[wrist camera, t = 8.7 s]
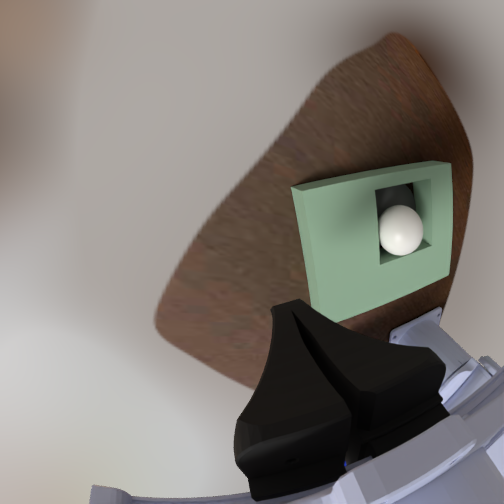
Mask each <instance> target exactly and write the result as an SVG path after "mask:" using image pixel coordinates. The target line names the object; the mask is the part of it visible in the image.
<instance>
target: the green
mask: <svg viewBox="0 0 504 504" xmlns="http://www.w3.org/2000/svg"><path fill="white" fill-rule="evenodd" d="M410 182H413V189H414V196H413V194H412V192H411V191H410V189H409V188H408V187H407V186H406V185H405V183H410ZM291 190H292V195H293V200H294V205H295V210H296V215H297V220H298V226H299V231H300V237H301V243H302V248H303V254H304V260H305V266H306V273H307V279H308V286H309V292H310V299H311V306H312V308H313V309H315V310H316V311H318V312H319V313H321V314H322V315H324V316H326V317H327V318H329V319H330V320H332V321H334V322H339V321H342V320H345V319H347V318H350V317H353V316H355V315H358V314H361V313H363V312H366V311H368V310H371V309H374V308H376V307H379V306H381V305H383V304H386V303H388V302H391V301H393V300H395V299H398V298H400V297H402V296H405V295H407V294H409V293H412V292H414V291H416V290H418V289H420V288H423V287H425V286H427V285H429V284H431V283H433V282H435V281H437V280H439V279H442V278H444V277H446V276H448V275H449V269H450V259H451V246H452V227H453V192H452V172H451V163H446V162H439V161H426V162H419V163H412V164H406V165H399V166H393V167H387V168H381V169H376V170H370V171H364V172H359V173H354V174H349V175H343V176H338V177H334V178H329V179H324V180H319V181H314V182H310V183H305V184H301V185H296V186H292V187H291ZM395 205H403V206H407V207H409V208H411V209H413V210H414V211H415V212H416V213H417V214H418V215H419V217H420V219H421V221H422V224H423V238H422V241H421V243H420V245H419V246H418V247H417V249H416V250H414V251H413V252H412V253H410V254H407V255H402V256H399V255H394V254H391V253H389V252H388V251H386V250H385V249H384V248H382V249H379V245H381V244H380V242H379V233H378V220H379V218H380V216H381V214H382V213H383V212H384V211H385V210H386V209H388V208H390V207H392V206H395ZM381 246H382V245H381Z"/></svg>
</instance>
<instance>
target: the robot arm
mask: <svg viewBox="0 0 504 504" xmlns="http://www.w3.org/2000/svg"><path fill="white" fill-rule="evenodd" d="M271 313H272V317H273V328H272V339H271V345H270V350H269V355H268V359H267V362H266V365H265V368H264V371H263V374H262V376H261V379H260V381H259V384H258V386H257V388H256V390H255V391H254V394H253V396H252V397H251V399H250V401H249V403H248V404H247V406H246V407H245V409H244V410H243V412H242V413H241V415H240V416H239V418H238V419H237V423H236V428H235V435H234V455H235V462H236V464H237V466H238V467H239V469H240V470H241V471H242V472H243V473H244V474H245V476H246V477H247V478H248V482H249V488H250V492H247V493H240V494H233V495H224V496H215V497H214V496H213V497H198V498H152V497H150V498H149V497H137V496H131V495H130V494H128V493H127V492H125V491H123V490H120V489H117V488H112V487H105V486H99V485H92V489H91V495H90V502H89V504H504V366H503V367H502V368H501V367H500V366H499V365H498V364H497V363H496V362H495V361H493V360H492V359H491V358H490V357H489V356H484V357H483V356H482V357H480V359H479V362H480V363H481V364H482V365H484V367H483V366H482V365H480V363H478V362H477V361H476V360H475V359H474V358H473V357H471V356H470V355H469V354H468V353H467V352H466V351H465V350H464V349H463V348H462V347H461V346H460V345H459V344H458V343H456V342H455V341H454V340H453V339H452V338H451V337H450V336H449V335H448V334H447V333H446V332H445V331H443V330H442V329H441V328H440V327H439V323H440V318H441V313H442V308H441V307H438V308H436V309H434V310H432V311H430V312H428V313H426V314H424V315H422V316H420V317H418V318H416V319H414V320H412V321H410V322H408V323H406V324H404V325H402V326H400V327H398V328H395V329H393V330H392V331H391V332H390V338H389V342H385V341H381V340H377V339H374V338H370V337H367V336H364V335H362V334H359V333H357V332H354V331H352V330H349V329H347V328H345V327H343V326H341V325H339V324H337V323H336V322H334V321H332V320H330V319H329V318H327V317H326V316H324V315H322V314H321V313H319V312H318V311H316V310H315V309H313V308H312V307H311V306H309V305H308V304H306V303H305V302H304V301H302V300H301V299H296V300H293V301H290V302H286V303H283V304H279V305H276V306H273V307H272V308H271ZM345 462H346V465H347V466H344V464H345Z"/></svg>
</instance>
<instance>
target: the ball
mask: <svg viewBox="0 0 504 504" xmlns="http://www.w3.org/2000/svg"><path fill="white" fill-rule="evenodd" d="M378 233H379V242H380V244H381V245H382V247H383V248H384V249H385V250H386V251H388V252H389V253H391V254H394V255H399V256H402V255H407V254H410V253H412V252H413V251H414V250H416V249H417V247H418V246H419V245H420V243H421V241H422V238H423V224H422V221H421V219H420V217H419V215H418V214H417V213H416V212H415V211H414V210H413V209H411V208H409V207H407V206H403V205H395V206H392V207H390V208H388V209H386V210H385V211H384V212H383V213H382V214H381V216H380V218H379V220H378Z"/></svg>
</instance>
